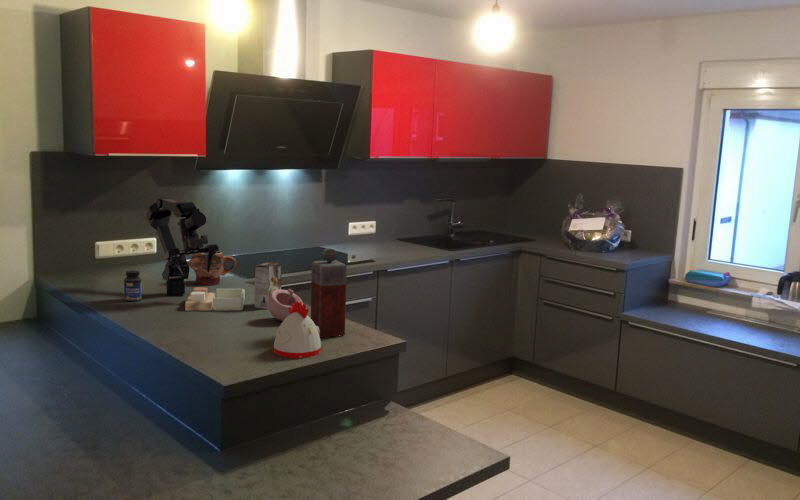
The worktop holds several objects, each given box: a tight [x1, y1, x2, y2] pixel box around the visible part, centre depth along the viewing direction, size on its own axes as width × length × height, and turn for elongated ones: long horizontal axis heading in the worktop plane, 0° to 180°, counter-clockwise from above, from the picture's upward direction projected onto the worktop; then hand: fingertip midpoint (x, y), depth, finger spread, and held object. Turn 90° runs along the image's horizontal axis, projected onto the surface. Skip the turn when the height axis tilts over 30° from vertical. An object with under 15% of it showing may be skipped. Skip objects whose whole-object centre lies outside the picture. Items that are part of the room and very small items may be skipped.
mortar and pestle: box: [267, 288, 304, 322], centre depth 235 cm, size 12×12×11 cm
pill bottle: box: [123, 270, 142, 302], centre depth 256 cm, size 6×6×11 cm
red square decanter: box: [310, 247, 348, 338], centre depth 221 cm, size 9×11×28 cm
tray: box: [212, 288, 246, 312], centre depth 255 cm, size 10×17×4 cm, turn 10°
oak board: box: [184, 291, 216, 312], centre depth 253 cm, size 9×17×3 cm, turn 11°
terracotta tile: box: [193, 286, 208, 296], centre depth 256 cm, size 4×4×2 cm
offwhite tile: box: [191, 291, 205, 301], centre depth 248 cm, size 4×4×2 cm
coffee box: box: [254, 261, 282, 310], centre depth 255 cm, size 9×6×16 cm
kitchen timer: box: [273, 301, 322, 359], centre depth 200 cm, size 14×14×15 cm
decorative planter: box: [187, 250, 237, 286], centre depth 292 cm, size 20×12×14 cm, turn 105°
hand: (196, 274), depth 254 cm, fingers open, 9 cm apart
